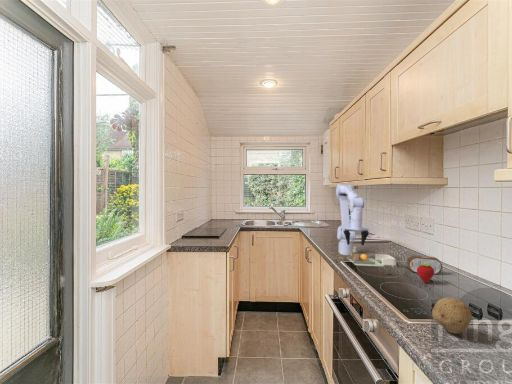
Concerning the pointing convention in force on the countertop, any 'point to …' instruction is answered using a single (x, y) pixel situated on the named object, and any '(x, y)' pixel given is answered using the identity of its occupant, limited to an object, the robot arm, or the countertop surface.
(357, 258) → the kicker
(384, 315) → the countertop surface
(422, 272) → the strawberry
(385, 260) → the pitch
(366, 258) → the ball
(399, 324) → the countertop surface
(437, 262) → the tin
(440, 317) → the brown lumpy oval
